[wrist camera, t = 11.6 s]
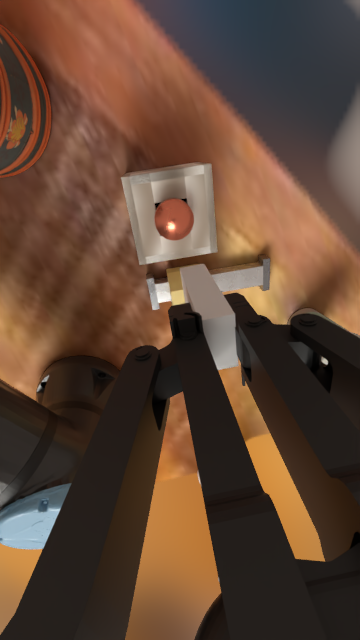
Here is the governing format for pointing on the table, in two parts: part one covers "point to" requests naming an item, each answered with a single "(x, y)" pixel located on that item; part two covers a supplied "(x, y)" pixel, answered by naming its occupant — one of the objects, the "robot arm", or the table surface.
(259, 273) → the rail
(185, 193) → the grey open box
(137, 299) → the table surface
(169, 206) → the plunger
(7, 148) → the beer stein
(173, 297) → the carriage
